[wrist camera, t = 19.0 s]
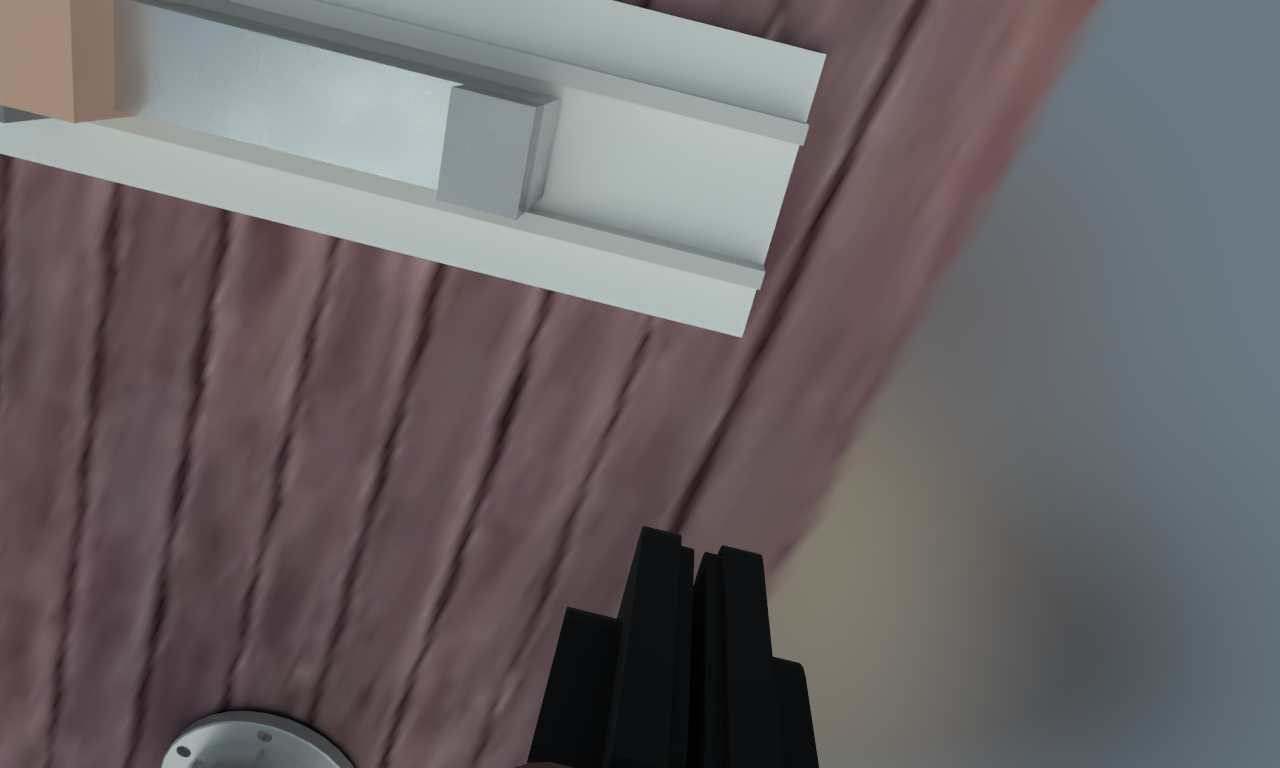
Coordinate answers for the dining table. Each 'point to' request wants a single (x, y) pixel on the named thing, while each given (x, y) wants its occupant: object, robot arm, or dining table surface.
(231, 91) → the grey sliding carriage block
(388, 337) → the dining table surface
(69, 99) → the block
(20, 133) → the grey slide rail track
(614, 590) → the dining table surface
